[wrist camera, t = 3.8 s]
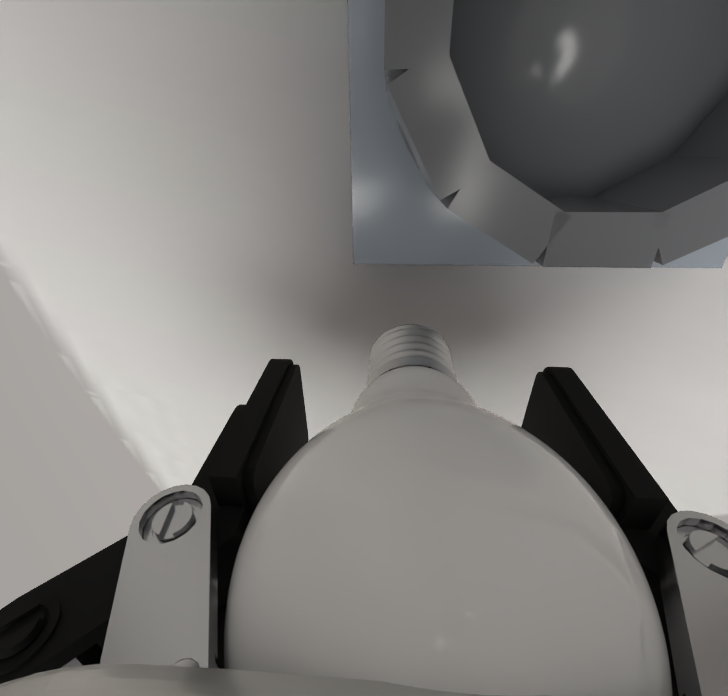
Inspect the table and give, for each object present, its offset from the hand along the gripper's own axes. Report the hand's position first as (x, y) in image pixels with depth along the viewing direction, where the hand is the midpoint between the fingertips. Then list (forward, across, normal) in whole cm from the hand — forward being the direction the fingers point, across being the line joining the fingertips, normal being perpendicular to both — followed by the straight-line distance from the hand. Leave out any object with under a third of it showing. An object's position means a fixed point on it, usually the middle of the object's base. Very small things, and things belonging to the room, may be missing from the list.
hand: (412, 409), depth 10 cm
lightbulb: (+3, 0, 0) cm, 3 cm away
